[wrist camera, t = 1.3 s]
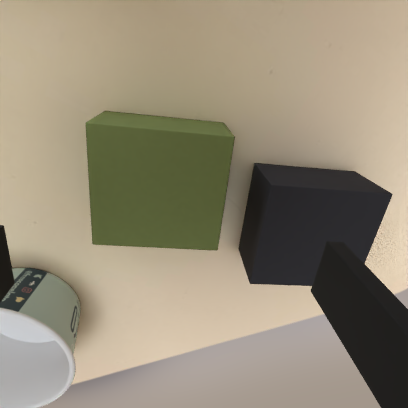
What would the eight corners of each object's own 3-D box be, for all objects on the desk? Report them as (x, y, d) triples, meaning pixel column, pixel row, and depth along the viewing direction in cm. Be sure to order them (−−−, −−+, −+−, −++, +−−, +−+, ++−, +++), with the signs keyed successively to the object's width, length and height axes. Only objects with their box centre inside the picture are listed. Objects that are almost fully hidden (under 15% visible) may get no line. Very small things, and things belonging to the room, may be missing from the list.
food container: (-49, 250, 26) (-117, 305, 20) (93, 258, 27) (69, 312, 21) (-23, 346, 31) (-71, 413, 25) (96, 349, 32) (78, 413, 26)
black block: (355, 171, 26) (393, 194, 21) (327, 253, 29) (354, 287, 25) (254, 162, 25) (271, 184, 20) (238, 248, 28) (249, 283, 24)
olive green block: (223, 122, 23) (234, 136, 18) (210, 219, 26) (217, 250, 22) (104, 110, 22) (85, 122, 17) (107, 212, 25) (92, 244, 21)
